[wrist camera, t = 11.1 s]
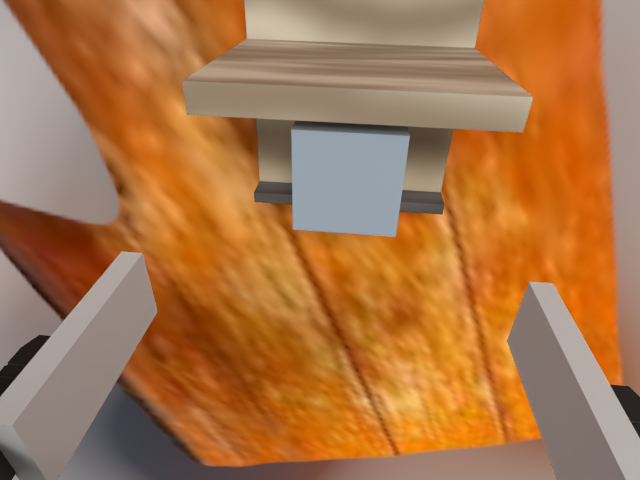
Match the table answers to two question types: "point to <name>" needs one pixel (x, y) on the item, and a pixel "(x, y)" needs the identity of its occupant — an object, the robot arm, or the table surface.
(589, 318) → the table surface
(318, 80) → the grey slotted stand
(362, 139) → the grey rectangular block
